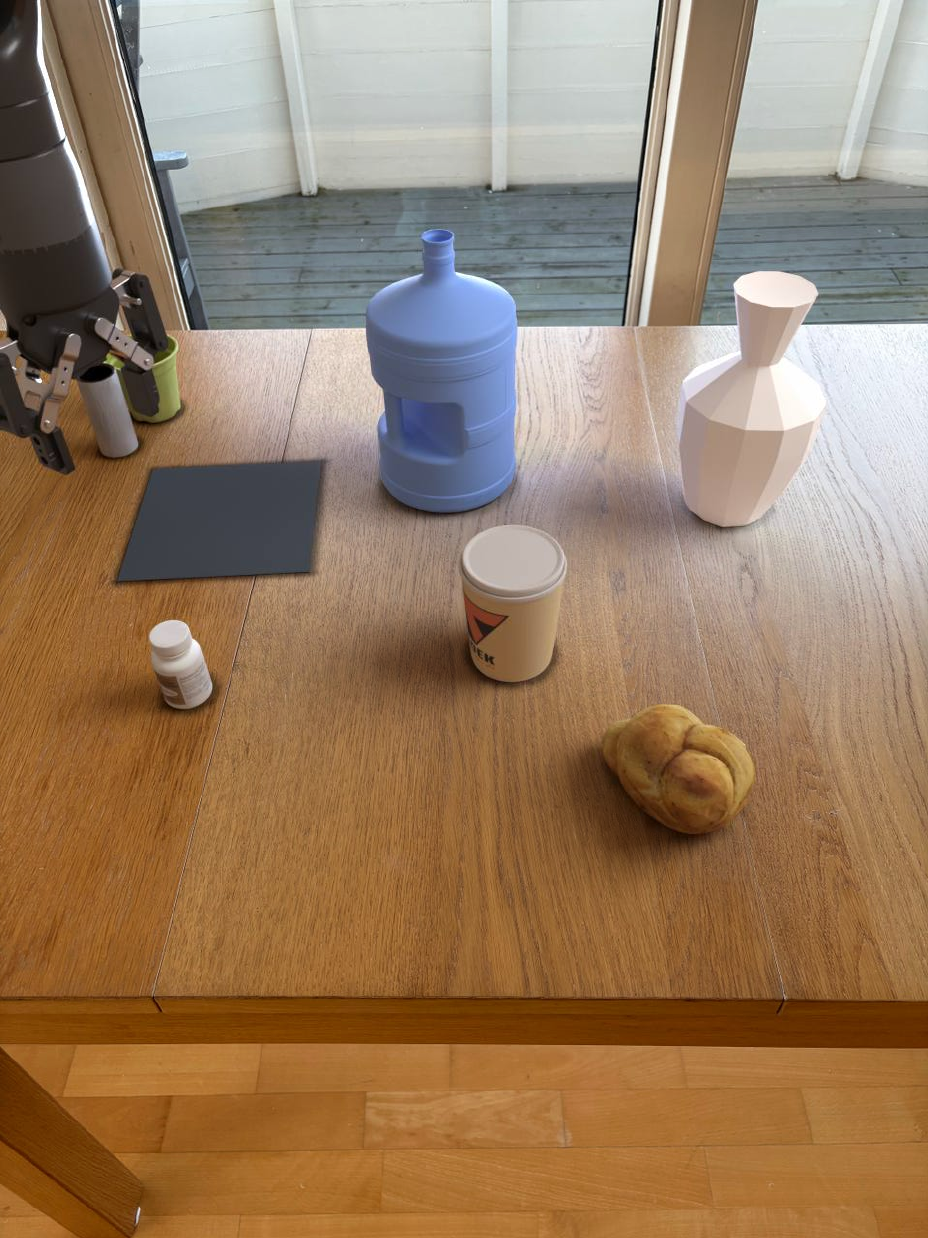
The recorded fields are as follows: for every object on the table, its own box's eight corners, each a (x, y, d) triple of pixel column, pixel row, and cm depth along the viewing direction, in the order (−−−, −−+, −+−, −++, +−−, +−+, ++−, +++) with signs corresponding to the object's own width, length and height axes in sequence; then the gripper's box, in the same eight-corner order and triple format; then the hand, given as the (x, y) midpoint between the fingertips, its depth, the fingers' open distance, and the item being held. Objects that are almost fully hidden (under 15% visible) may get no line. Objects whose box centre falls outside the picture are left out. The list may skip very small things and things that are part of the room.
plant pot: (132, 439, 117) (112, 377, 111) (109, 405, 123) (89, 344, 117) (204, 416, 121) (188, 354, 115) (178, 384, 127) (162, 324, 121)
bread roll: (575, 766, 80) (581, 705, 75) (654, 710, 84) (665, 647, 79) (691, 870, 73) (708, 811, 67) (772, 802, 77) (793, 741, 72)
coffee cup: (447, 634, 92) (442, 538, 83) (535, 607, 94) (539, 511, 86) (485, 701, 86) (483, 605, 77) (578, 671, 88) (586, 574, 80)
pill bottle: (155, 692, 87) (133, 633, 82) (197, 667, 89) (177, 608, 84) (180, 718, 85) (158, 659, 80) (222, 693, 87) (204, 633, 82)
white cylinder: (103, 461, 114) (77, 385, 107) (98, 442, 117) (72, 367, 110) (141, 452, 115) (118, 376, 108) (135, 433, 118) (111, 358, 111)
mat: (117, 581, 98) (116, 581, 98) (153, 469, 113) (152, 468, 113) (309, 572, 99) (309, 571, 99) (321, 461, 113) (321, 460, 113)
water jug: (466, 423, 118) (461, 192, 99) (542, 485, 109) (552, 242, 89) (356, 465, 112) (327, 228, 93) (426, 534, 103) (409, 286, 83)
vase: (692, 554, 99) (734, 333, 82) (646, 476, 109) (674, 265, 92) (818, 534, 101) (885, 314, 84) (761, 459, 111) (811, 249, 94)
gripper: (75, 173, 65) (137, 384, 76) (-107, 251, 56) (-6, 476, 68) (155, 192, 62) (208, 408, 73) (-23, 276, 53) (68, 506, 65)
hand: (106, 440), depth 71 cm, fingers open, 8 cm apart
